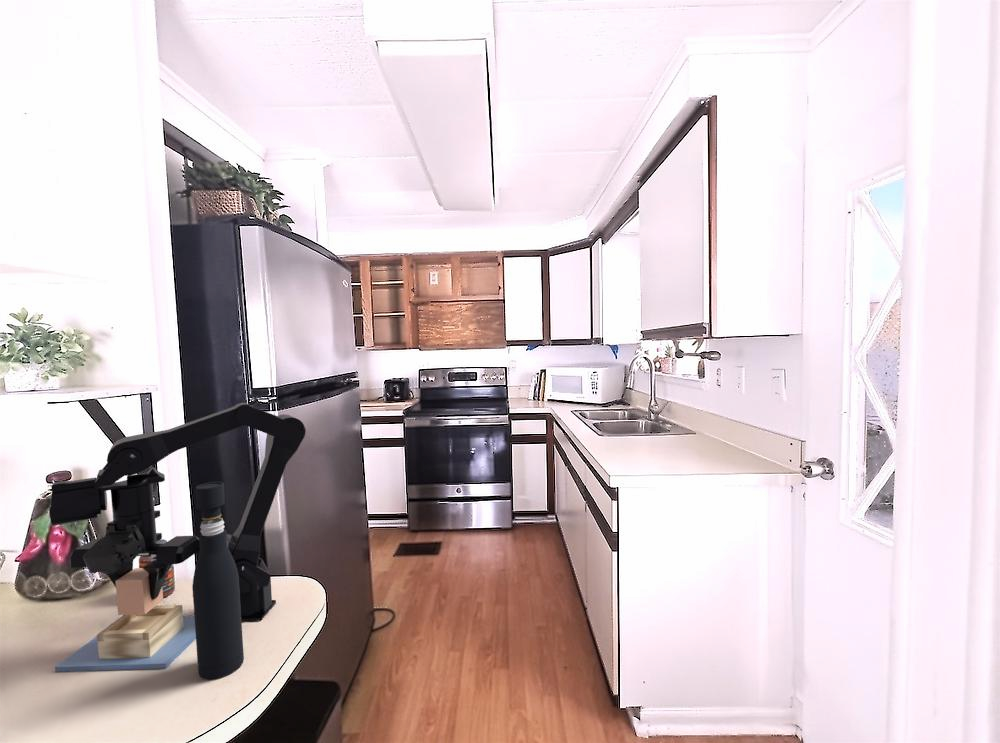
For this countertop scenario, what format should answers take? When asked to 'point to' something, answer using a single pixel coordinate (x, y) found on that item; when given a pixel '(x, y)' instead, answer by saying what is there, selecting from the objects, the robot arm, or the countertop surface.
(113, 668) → the mat
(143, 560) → the supplement bottle
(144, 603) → the terracotta block
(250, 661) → the countertop surface
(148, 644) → the open wooden box
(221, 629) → the black insulated water bottle
